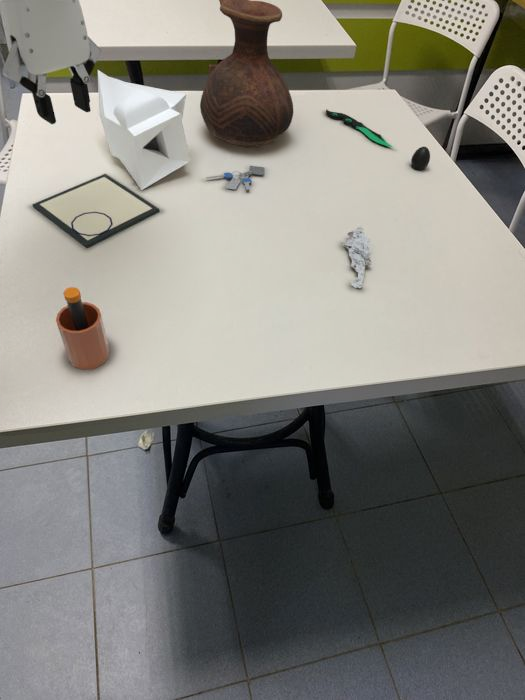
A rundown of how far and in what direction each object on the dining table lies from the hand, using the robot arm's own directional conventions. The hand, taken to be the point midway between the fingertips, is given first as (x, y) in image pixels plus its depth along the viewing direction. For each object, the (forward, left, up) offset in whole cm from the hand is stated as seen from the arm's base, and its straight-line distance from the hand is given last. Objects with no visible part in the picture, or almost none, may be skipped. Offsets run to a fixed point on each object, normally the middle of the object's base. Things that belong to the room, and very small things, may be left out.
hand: (65, 113), depth 75 cm
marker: (-18, -24, -21) cm, 36 cm away
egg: (+71, -30, -22) cm, 80 cm away
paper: (+30, -40, -22) cm, 55 cm away
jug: (+50, +7, -22) cm, 55 cm away
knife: (+75, -10, -22) cm, 79 cm away
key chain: (+34, -7, -22) cm, 41 cm away
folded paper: (+24, +14, -22) cm, 36 cm away
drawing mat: (+5, +5, -22) cm, 23 cm away
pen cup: (-18, -24, -22) cm, 37 cm away
